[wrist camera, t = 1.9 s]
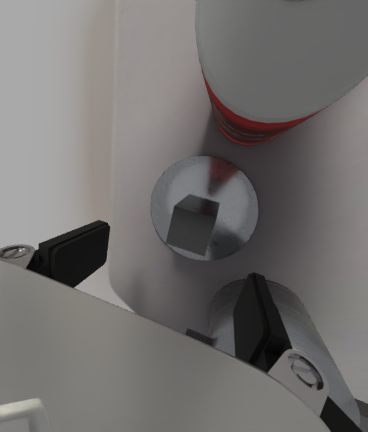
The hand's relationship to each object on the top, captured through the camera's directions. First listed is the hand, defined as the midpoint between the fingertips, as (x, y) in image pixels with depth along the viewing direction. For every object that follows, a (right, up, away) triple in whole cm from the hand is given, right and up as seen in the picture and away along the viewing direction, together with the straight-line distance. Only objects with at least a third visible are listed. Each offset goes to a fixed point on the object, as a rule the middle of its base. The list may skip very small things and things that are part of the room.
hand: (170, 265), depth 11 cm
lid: (+3, +4, +10) cm, 11 cm away
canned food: (+8, +14, +6) cm, 17 cm away
